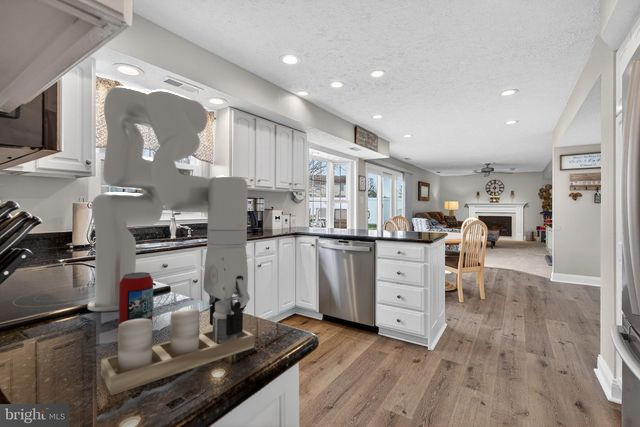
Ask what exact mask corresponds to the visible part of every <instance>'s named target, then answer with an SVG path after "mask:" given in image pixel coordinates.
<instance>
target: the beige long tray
mask: <svg viewBox="0 0 640 427" xmlns="http://www.w3.org/2000/svg"><path fill="white" fill-rule="evenodd" d="M200 314H201V313H200V310H199V309H196V308H185V309H184V308H183V309H179V310H175V311H173V312H171V313H170V337H169V338H170V339H169V341H166V342H161V343H157V344H154V345H153V319H152V320H151V319H144V318H142V319H133V320H128V321H125V322H123V323H121V324H119V323H118V325H117V326H118V329H117V330H118V332H117V354H116V355H112V356H108V357H104V358H101V359H100V376H101V378H102V380H103V382H104V383H106V384H105V386H106V388H107V389H108V392H109V394H110V396H114V395H118V394H120V393H123V392H126V391H129V390H132V389H135V388H138V387H141V386H143V385H144V386H145V385H147V384H151V383H152V382H156V381H158V380H162V379H164V378H168V377H171V376H174V375H177V374H179V373H183V372H186V371H188V370H191V369H192V370H193V369H195V368H198V367H201V366H203V365H207V364H210V363H212V362H213V363H214V362H215V361H218V360H221V359H223V358H227V357H231V356H233V355H236V354H240V353H242V352H245V351H248V350H251V349H254V347H255V346H254V345H255V342H254V341H255V335H254V334H253V333H251V332H249V331H247V330H245V329H243V330H242V332H241V333H237V339H234V340H231V341H228V342H224V343H221V344H216V343H215V342H213V341H212V340H213V329H210V330H207V331H203V332H200V318H201V317H200Z"/></svg>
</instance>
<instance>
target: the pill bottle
mask: <svg viewBox="0 0 640 427" xmlns="http://www.w3.org/2000/svg"><path fill="white" fill-rule="evenodd" d="M232 302H233V306H234V305H235V303H236V302H237V300H234V301H232ZM226 314H229V312H228V306H227V300H225V301H223V300H220V301H217V302H216V303H215V312H214V314H213V325H212V330H213V340H212V341H213V342H215V343H216V344H221V343H224V342H228V341H231V340H234V339H237V334H234V335H230V336H228V335H226Z"/></svg>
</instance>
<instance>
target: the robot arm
mask: <svg viewBox="0 0 640 427" xmlns="http://www.w3.org/2000/svg"><path fill="white" fill-rule="evenodd" d="M103 114H104V120H105V125H106V132H107V138H106V146H105V154H104V162H103V171H102V173H103V180H104V182H105V184H106V185H108V186H110V187H112V188H119V189H127V190H140V191H141V190H142V193H136V192H135V193H132V192H118V191H112V192H111V191H108V192H103V193H100V194H97V195H96V196H95V197H94V199H93V200H92V202H91V213H92V218H93V226H94V233H95V267H94V270H95V271H94V272H95V273H94V300H91V301H90V302H88V304H87V310H89V311H92V312H103V313H104V312H115V311H119V287H120V282H121V280H122V278H123V275H125V274H129V273H137V272H136V269H137V267H136V266H137V242H136V238H135V236H134V235H133V233H131V231H130V230H129V229H128V228H129V227H141V226H142V227H143V226H144V227H145V226H155V224H157V223H158V222H159V221H160V220H161V218H162V215H163V210H164V207H165V208H166V209H168V210H169V211H171V212H174V213H175V212H176V213H202V214H204V213H205V214H207V235H206V237H207V241H206V243H207V244H206V246H207V248H206V252H205V260H204V269H203V270H204V274H203V290H204V292H205V293H206V294H207V295H208V296H209V299H208V303H209V304H208V305H209V325H210V326H213V314H214V312H215V303H216V302H217V301H220V300H223V301H225V300H227V306H228V312H229V314H226V335H228V336H230V335H234V334H237V333H241V332H242V330H244V329H243V328H244V327H243V326H244V324H243V323H244V320H243V319H244V313H245V308H246V307H247V304H248V303H249V301H250V299H251V297H250V294H249V292H248V285H249V283H248V282H249V281H248V279H249V276H248V275H249V274H248V273H249V271H248V268H249V267H248V257H247V254H248V253H247V248H246V247H247V243H248V242H247V238H248V237H247V233H248V229H247V228H248V193H249V192H248V191H249V190H248V188H249V186H248V181H247V180H246V179H245V178H243V177H239V176H234V175H232V176H231V175H218V176H217V175H216V176H213V177H205V176H200V175H199V176H198V175H193V174H192V175H191V174H190V175H189V174H183V173H181V172H179V169H178V166H176V163H175V162H177V161H180V160H183V159H186V158H188V157H190V156H192V155H194V154H195V153H196V152H197V151H198V149H199V148H200V144H201V139H200V137H199V134H201V133H202V132H203V131H204V130H205V129H206V127H207V123H208V114H207V110H206V109H205V107H204V106H203V104H201V102H199V101H197V100H195V99H194V98H189V97H187V96H184V95H181V94H179V93H176V92H173V91H170V90H166V89H155V90H151V91H150V92H147V91H144V90H140V89H137V88H133V87H129V86H124V85H118V86H113V87H112V88H110V89H109V90H108V92H107V94H106V96H105V99H104V107H103ZM137 125H140V126H144V127H148V128H152V131H153V132H154V135H155V137H156V139H157V142H158V144H159V147H158V148H157V149H156V151H155V153H154V155H153V157H145V156H144V154H143V151H144V147H145V146H144V145H145V141H144V140H145V139H144V136H143V134H142V132H141V130H140V129H139V127H138V126H137ZM233 295H235V296H233ZM232 301H236V303H235V305H234V306H233V302H232Z"/></svg>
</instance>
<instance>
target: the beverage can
mask: <svg viewBox="0 0 640 427" xmlns="http://www.w3.org/2000/svg"><path fill="white" fill-rule="evenodd" d="M153 307H154V280H153V278H152V276H151V273H150V272H145V271H143V272H142V271H141V272H139V271H138V272H136V273H129V274H125V275H123V278H122V280H121V282H120V287H119V310H118V325H119V324H121V323H123V322H125V321H128V320H133V319H142V318H144V319H151V320H152V321H153V312H154V308H153Z"/></svg>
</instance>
